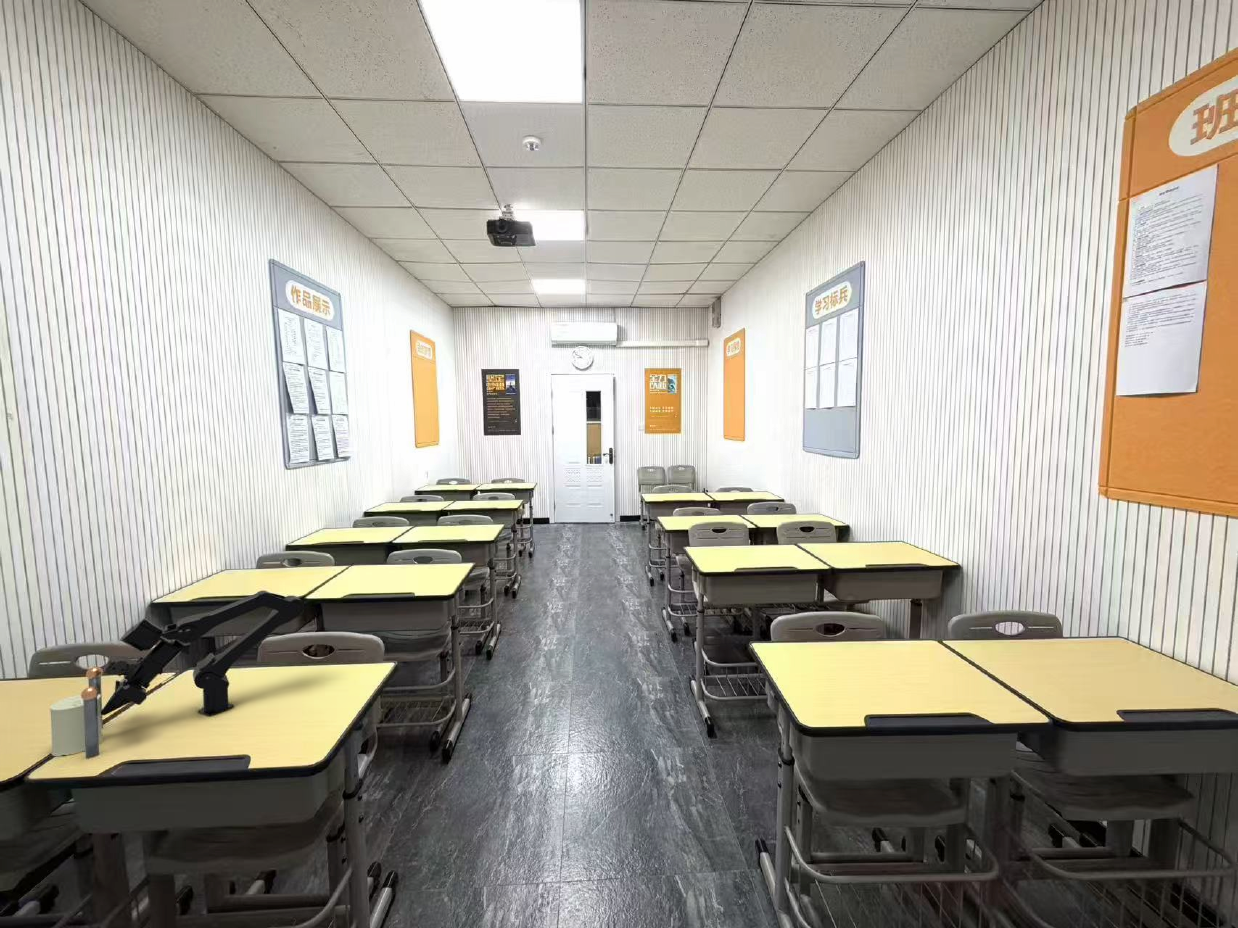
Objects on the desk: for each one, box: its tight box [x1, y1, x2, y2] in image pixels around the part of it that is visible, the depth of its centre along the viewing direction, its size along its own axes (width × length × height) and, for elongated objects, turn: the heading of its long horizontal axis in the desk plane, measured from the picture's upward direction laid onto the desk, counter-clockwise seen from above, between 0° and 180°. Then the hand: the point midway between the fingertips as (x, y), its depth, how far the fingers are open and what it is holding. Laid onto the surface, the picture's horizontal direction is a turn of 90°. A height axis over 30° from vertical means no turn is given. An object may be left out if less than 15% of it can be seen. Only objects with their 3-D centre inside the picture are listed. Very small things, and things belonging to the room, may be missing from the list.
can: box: [49, 694, 104, 757], centre depth 136 cm, size 9×9×12 cm
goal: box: [80, 666, 104, 759], centre depth 138 cm, size 20×3×17 cm, turn 42°
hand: (102, 714), depth 139 cm, fingers closed
